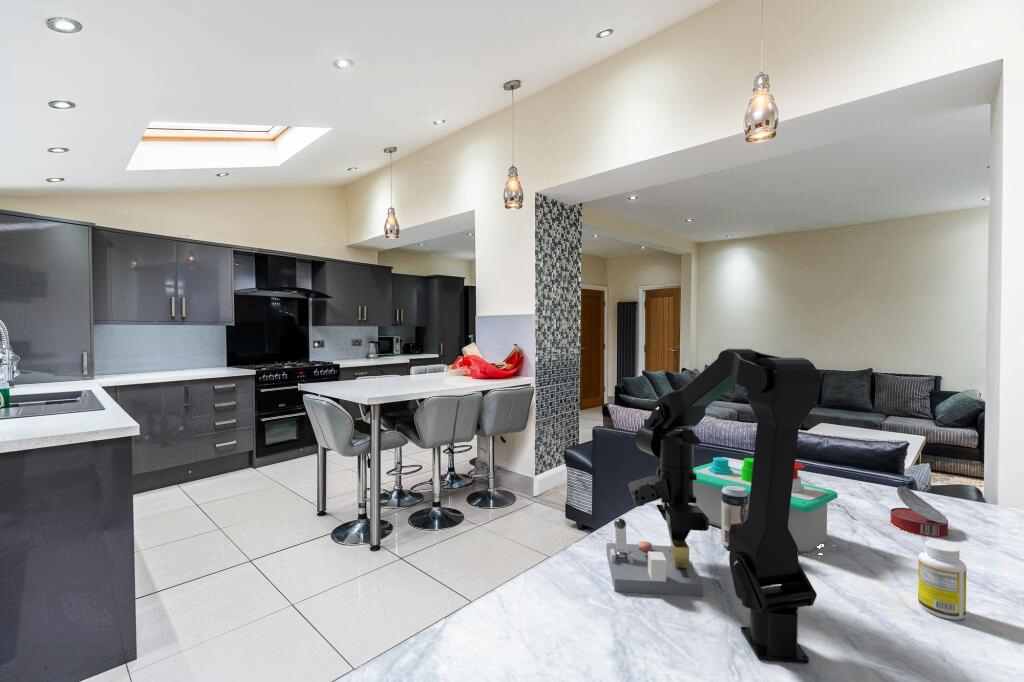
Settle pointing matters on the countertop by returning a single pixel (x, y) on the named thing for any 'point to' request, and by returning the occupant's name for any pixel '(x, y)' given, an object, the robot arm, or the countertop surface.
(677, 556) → the brushed brass brick
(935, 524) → the canned food
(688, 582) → the panel
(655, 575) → the white block
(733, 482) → the control panel
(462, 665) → the countertop surface
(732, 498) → the beer can
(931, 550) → the supplement bottle
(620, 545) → the toggle lever
